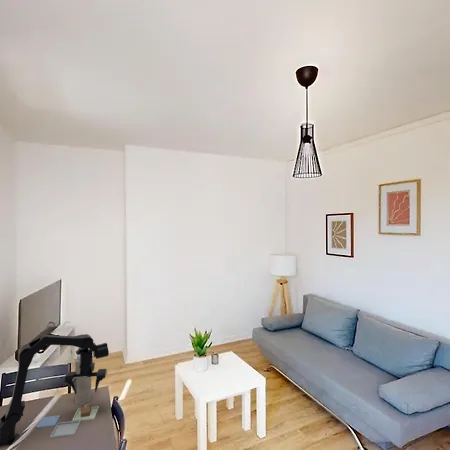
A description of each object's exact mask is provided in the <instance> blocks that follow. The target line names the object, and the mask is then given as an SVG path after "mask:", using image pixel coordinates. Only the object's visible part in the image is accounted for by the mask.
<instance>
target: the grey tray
mask: <svg viewBox="0 0 450 450" xmlns="http://www.w3.org/2000/svg"><path fill="white" fill-rule="evenodd" d="M80 424H81V420H78V421H72V420H71V421H63V422H57V423H56V425H55V426H54V429H53V430H52V432H51V434H50V436H49V439H51V440H52V439H56V438H64V437H72V436H73V437H74V436H75V435H76V432H77V431H78V428H79V426H80Z"/></svg>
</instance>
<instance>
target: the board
mask: <svg viewBox="0 0 450 450" xmlns="http://www.w3.org/2000/svg"><path fill="white" fill-rule="evenodd" d="M60 418H61V414H59V415H52V416H51V415H50V416H43V417H41V419H40V421H39V422H38V424H37V425H36V427H35V429H46V428H52V427H54V428H55V427H56V425H57V424H58V423H59V420H60Z"/></svg>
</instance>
